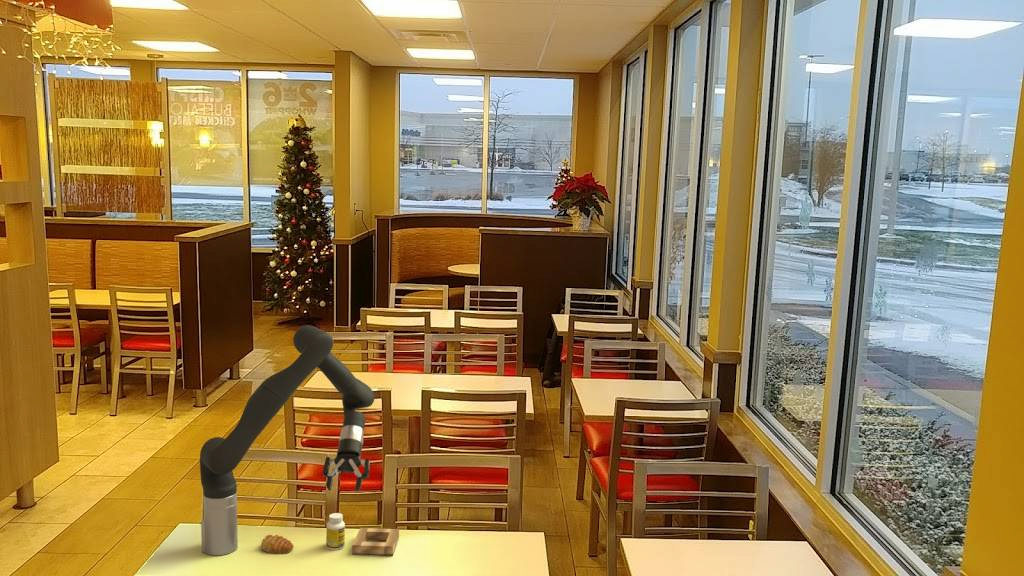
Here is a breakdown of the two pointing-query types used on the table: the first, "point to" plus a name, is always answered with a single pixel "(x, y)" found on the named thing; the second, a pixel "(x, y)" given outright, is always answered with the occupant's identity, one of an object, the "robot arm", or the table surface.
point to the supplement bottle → (335, 532)
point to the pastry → (276, 544)
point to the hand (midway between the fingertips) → (343, 489)
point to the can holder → (375, 542)
